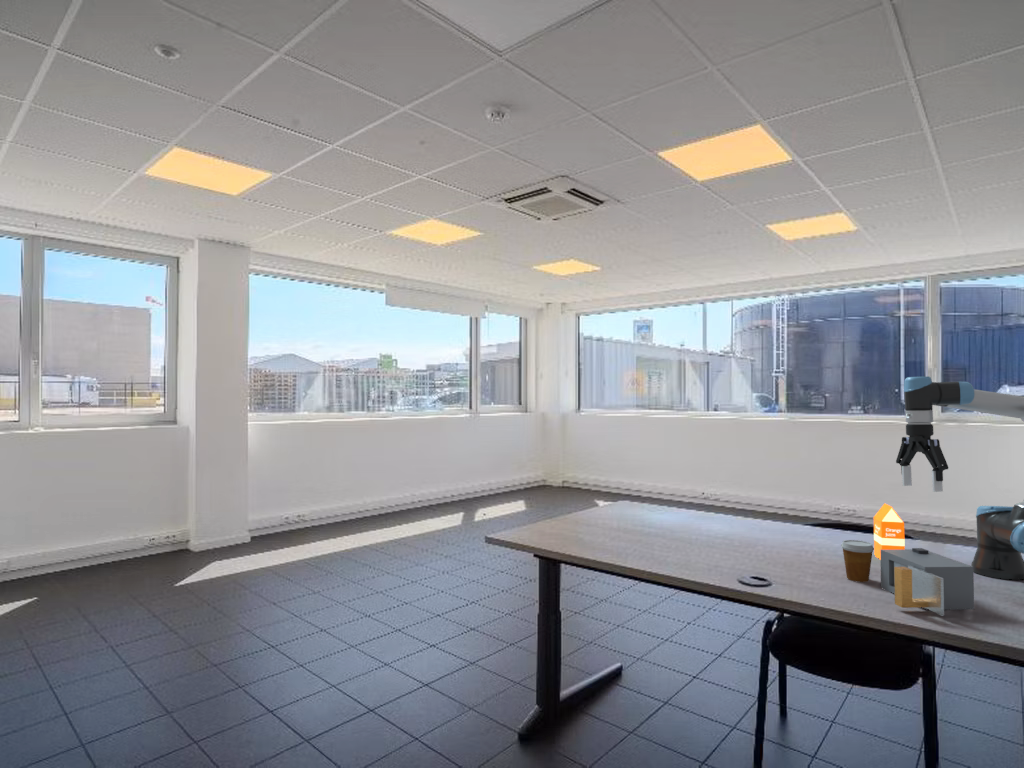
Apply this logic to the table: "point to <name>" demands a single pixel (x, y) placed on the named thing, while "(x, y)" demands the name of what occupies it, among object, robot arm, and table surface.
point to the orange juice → (888, 530)
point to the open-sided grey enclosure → (952, 572)
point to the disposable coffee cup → (857, 559)
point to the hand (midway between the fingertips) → (921, 488)
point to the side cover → (918, 589)
